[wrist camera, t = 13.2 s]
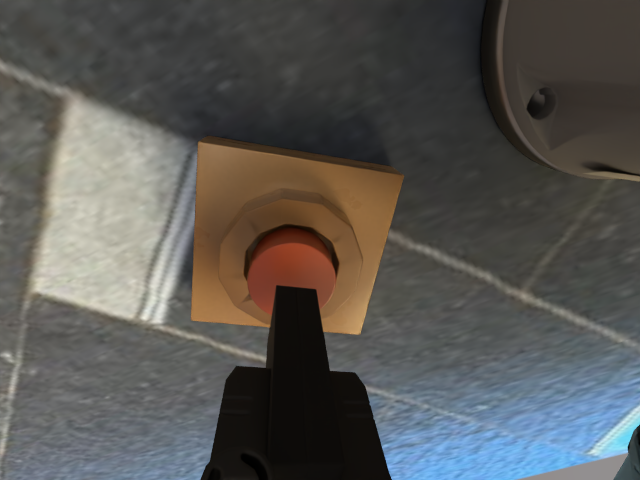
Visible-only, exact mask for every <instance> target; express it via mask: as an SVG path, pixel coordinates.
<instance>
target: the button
mask: <svg viewBox="0 0 640 480" xmlns="http://www.w3.org/2000/svg"><path fill="white" fill-rule="evenodd" d="M276 285H281V286H290V287H300V288H310V289H316V290H317V296H318V302H319V308H320V309H322V308H323V307H324V306H325V305H326V304H327V302H328V301H329V300H330V298H331V297H332V295H333V292H334V290H335V285H336V274H335V269H334V266H333V262H332V259H331V255H330V252H329V250H328V248H327V246H326V245H325V243H324V242H323V241H322V240H321V239H320V238H319V237H318V236H316V235H315V234H313V233H311V232H309V231H306V230H303V229H298V228H285V229H280V230H277V231H274V232H272V233H270V234H268V235H267V236H265V237H264V238H263V239H262V240H261V241H260V242H259V243H258V244H257V246H256V247H255V249H254V251H253V253H252V256H251V261H250V266H249V271H248V276H247V286H248V291H249V294H250V296H251V298H252V299H253V301H254V302H255V304H256V305H257V306H258V307H259V308H260V309H261V310H263V311H264V312H266V313H268V314H270V315H272V310H273V304H274V297H275V290H276Z"/></svg>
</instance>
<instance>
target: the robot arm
mask: <svg viewBox="0 0 640 480" xmlns="http://www.w3.org/2000/svg"><path fill="white" fill-rule="evenodd" d="M481 61H482V74H483V81H484V88H485V91H486V95H487V99H488V103H489V105H490V108H491V111H492V114H493V116H494V118H495V120H496V122H497V124H498V126H499V127H500V129H501V130H502V132H503V133H504V135H505V136H506V137H507V139H508V140H509V141H510V142H511V143H512V145H513V146H514V147H516V148H517V149H518V150H519V151H520V152H521V153H522V154H524V155H525V156H527V157H528V158H529V159H531V160H533V161H535V162H537V163H539V164H540V165H543V166H546V167H548V168H551V169H555V170H558V171H561V172H565V173H568V174H571V175H575V176H579V177H583V178H589V179H604V180H611V179H626V180H633V181H640V0H488V1H487V6H486V11H485V16H484V22H483V31H482V45H481ZM369 403H370V402H369V399H368V395H367V391H366V388H365V386H364V384H363V383H362V382H361V380H360V379H359V377H358V376H357V375H356V373H353V372H337V371H330V369H329V363H328V357H327V351H326V345H325V339H324V333H323V327H322V321H321V314H320V308H319V302H318V296H317V290H316V289H310V288H300V287H290V286H281V285H276V290H275V297H274V304H273V310H272V317H271V324H270V330H269V337H268V344H267V360H266V368H258V367H242V366H236V367H235V368H234V370H233V371H232V372H231V374H230V375H229V376H228V378H227V379H226V383H225V388H224V393H223V398H222V403H221V408H220V414H219V418H218V423H217V428H216V433H215V438H214V443H213V448H212V453H211V459H210V462H209V463H208V464H207V465H206V467H205V470H204V472H203V475H202V477H201V480H392V479H391V476H390V474H389V471H388V468H387V464H386V460H385V457H384V453H383V450H382V446H381V442H380V439H379V435H378V431H377V428H376V424H375V420H374V419H373V413H372V409H371V406H370V405H369ZM628 453H629V454H628V456H627V458H626V459H625V461H624V463H623V465H622V466H621V468H620V470H619V471H618V473H617V475H616V476H615V478H614V480H640V425H639V426H638V427H637V428H636V429H635V430H634V432H633V434H632V437H631V440H630V442H629V445H628Z"/></svg>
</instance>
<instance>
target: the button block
mask: <svg viewBox="0 0 640 480" xmlns="http://www.w3.org/2000/svg"><path fill="white" fill-rule="evenodd" d="M403 178H404V175H403V174H401V173H400V172H398V171H397V170H396V169H394V168H393V167H392V166H386V165H380V164H374V163H369V162H363V161H357V160H351V159H345V158H339V157H333V156H327V155H321V154H315V153H309V152H303V151H297V150H291V149H285V148H279V147H273V146H267V145H261V144H255V143H249V142H243V141H237V140H231V139H226V138H220V137H214V136H207V137H205V138H203V139H202V140H200V141H198V153H197V179H196V204H195V229H194V254H193V279H192V304H191V320H192V321H204V322H216V323H227V324H239V325H251V326H263V327H270V324H271V317H272V315H270V314H268V313H266V312H264V311H263V310H261V309H260V308H259V307H258V306H257V305H256V304H255V302H254V301H253V299H252V298H251V296H250V294H249V291H248V286H247V276H248V271H249V266H250V261H251V256H252V253H253V251H254V249H255V247H256V246H257V244H258V243H259V242H260V241H261V240H262V239H263V238H264V237H265V236H267V235H268V234H270V233H272V232H274V231H277V230H280V229H285V228H298V229H303V230H306V231H309V232H311V233H313V234H315V235H316V236H318V237H319V238H320V239H321V240H322V241H323V242H324V243H325V245H326V246H327V248H328V250H329V252H330V255H331V259H332V262H333V266H334V269H335V274H336V285H335V290H334V292H333V295H332V297H331V298H330V300H329V301H328V302H327V304H326V305H325V306H324V307H323V308H322V309H320V314H321V321H322V327H323V332H334V333H345V334H357V335H360V333H361V329H362V326H363V322H364V318H365V315H366V311H367V308H368V304H369V300H370V297H371V293H372V290H373V286H374V282H375V279H376V275H377V272H378V268H379V264H380V261H381V257H382V254H383V250H384V246H385V243H386V239H387V235H388V232H389V228H390V225H391V221H392V217H393V214H394V210H395V207H396V203H397V199H398V196H399V192H400V189H401V185H402V181H403Z"/></svg>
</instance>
